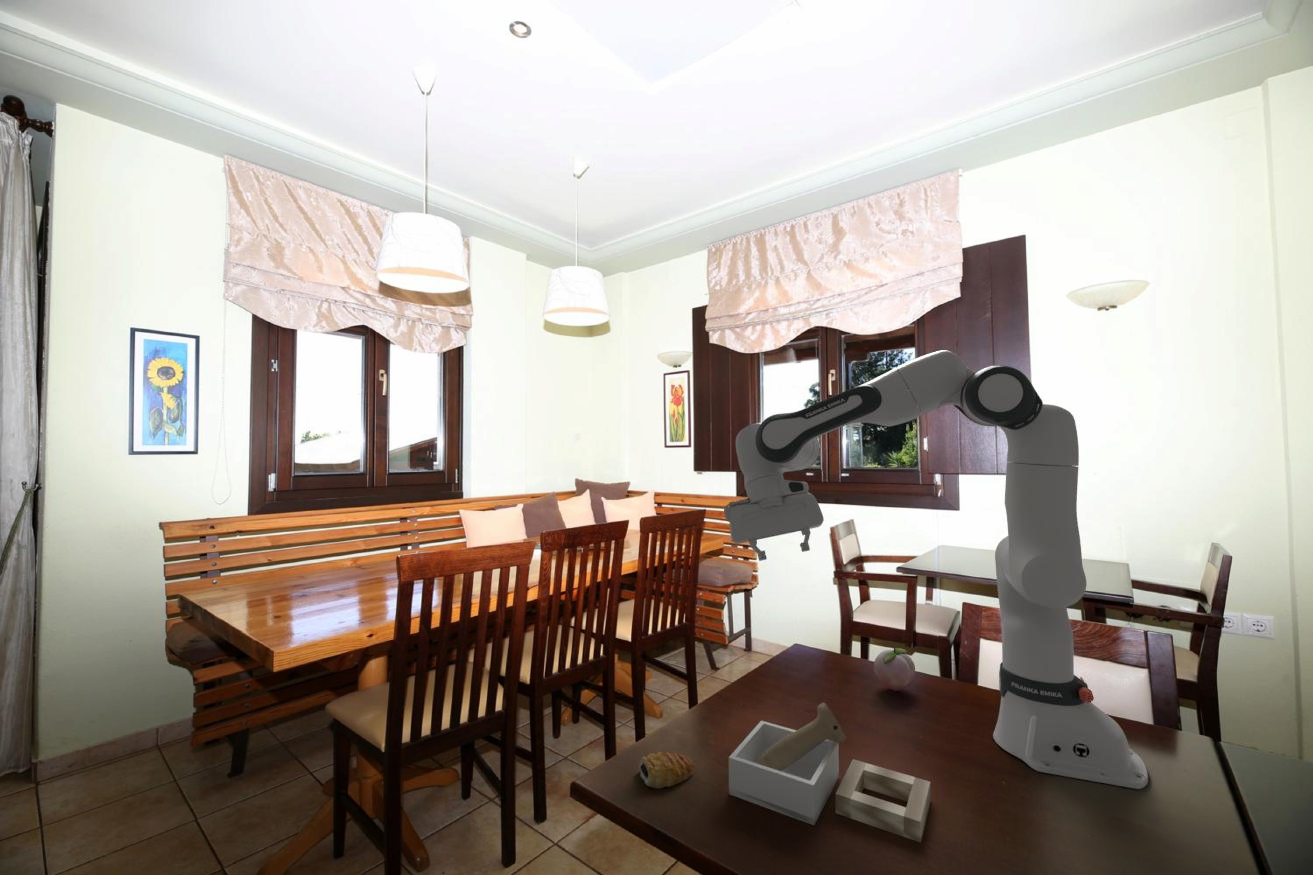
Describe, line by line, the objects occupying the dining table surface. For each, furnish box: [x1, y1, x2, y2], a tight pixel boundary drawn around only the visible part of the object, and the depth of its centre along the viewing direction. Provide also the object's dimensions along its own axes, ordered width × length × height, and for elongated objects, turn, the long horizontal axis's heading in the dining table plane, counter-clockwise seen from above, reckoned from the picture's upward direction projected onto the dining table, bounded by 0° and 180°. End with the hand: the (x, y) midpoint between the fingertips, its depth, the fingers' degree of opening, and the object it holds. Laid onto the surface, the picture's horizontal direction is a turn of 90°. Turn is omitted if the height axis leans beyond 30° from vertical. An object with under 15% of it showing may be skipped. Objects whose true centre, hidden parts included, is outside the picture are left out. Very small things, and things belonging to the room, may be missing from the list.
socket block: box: [835, 758, 932, 844], centre depth 88 cm, size 12×11×3 cm
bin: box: [728, 720, 840, 826], centre depth 93 cm, size 14×14×6 cm
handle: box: [756, 702, 847, 771], centre depth 95 cm, size 5×6×15 cm
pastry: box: [638, 751, 695, 789], centre depth 96 cm, size 9×7×4 cm
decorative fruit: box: [873, 646, 916, 692], centre depth 128 cm, size 9×8×10 cm
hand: (784, 555), depth 119 cm, fingers open, 8 cm apart
